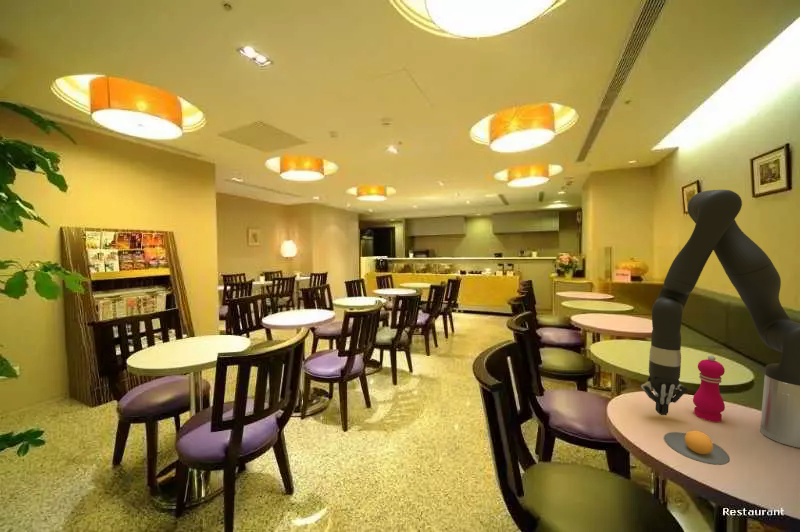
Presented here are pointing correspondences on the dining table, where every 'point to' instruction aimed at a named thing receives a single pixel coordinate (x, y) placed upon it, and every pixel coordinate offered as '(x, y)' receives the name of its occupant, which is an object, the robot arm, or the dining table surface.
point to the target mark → (679, 445)
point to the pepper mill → (709, 391)
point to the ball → (698, 442)
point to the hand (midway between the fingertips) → (661, 413)
